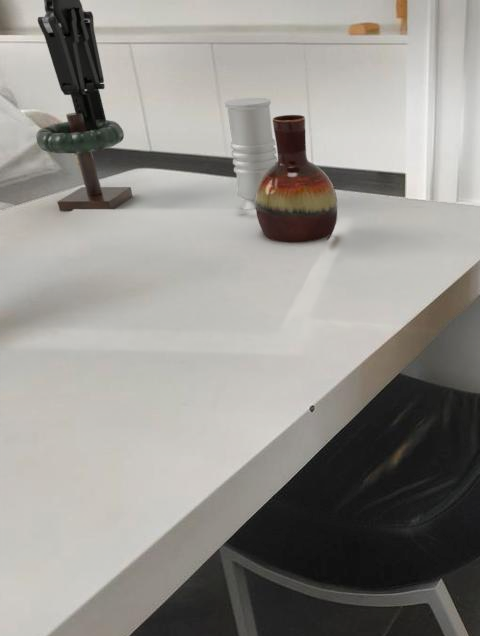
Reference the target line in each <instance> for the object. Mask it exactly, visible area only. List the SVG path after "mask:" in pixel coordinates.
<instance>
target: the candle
mask: <svg viewBox="0 0 480 636" xmlns="http://www.w3.org/2000/svg"><path fill="white" fill-rule="evenodd" d="M271 104H272V100H271V99H270V98H266V97H244V98H243V97H241V98H235V99H230V100H227V101H225V102H224V105H225V107H226V108H227V114H228V115H227V116H228V121H229V128H230V135H231V136H230V137H231V142H230V148H231V150H232V151H231V157H233V159H232V165H233V166H234V167H233V172H234V173H235V174H236V184H237V185H236V189H237V196H238V197H239V198H241V199H244V200H243V203H242V207H241V208H242V210H256V204H255V201H256V192H257V189H258V186H259V183H260V181H261V179H262V177H263V176H264V175H265V173H266V172H267V171H268V170H269V169H270V168H271V167H272V166H274V165H275V164H276V163H277V162H278V156H277V155H276V154H277V148H276V139H274V138H273V126H272V119H271V110H270V105H271Z"/></svg>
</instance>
